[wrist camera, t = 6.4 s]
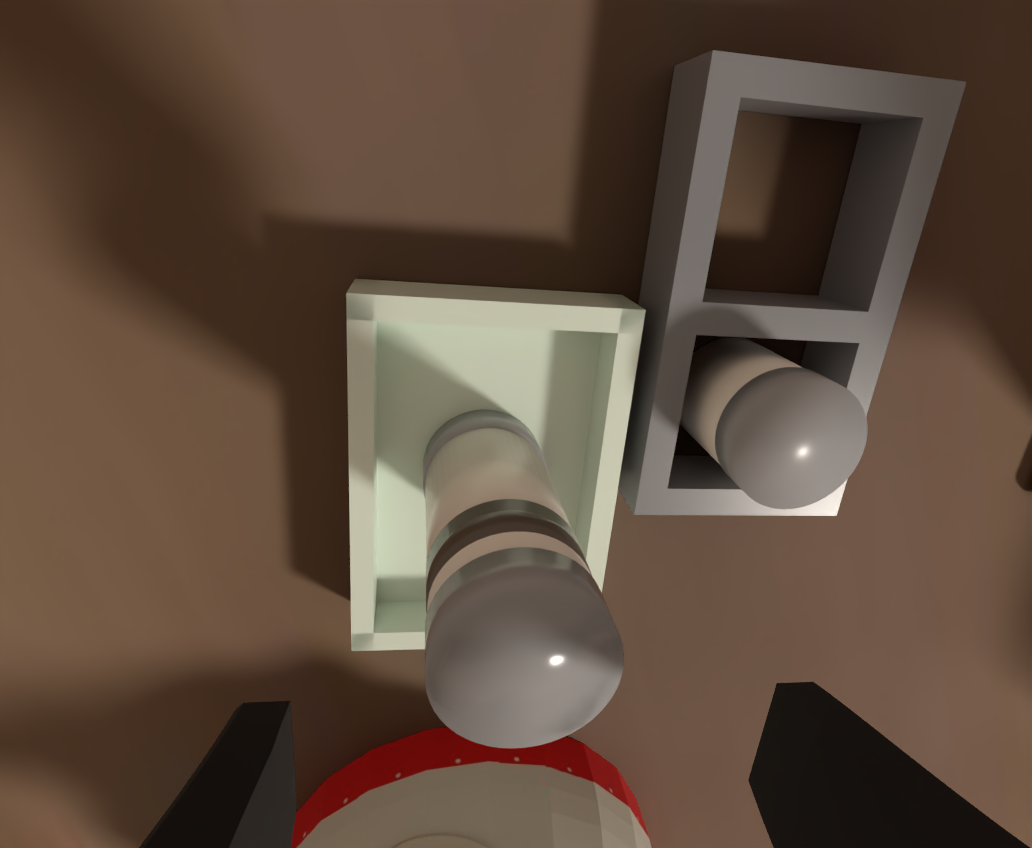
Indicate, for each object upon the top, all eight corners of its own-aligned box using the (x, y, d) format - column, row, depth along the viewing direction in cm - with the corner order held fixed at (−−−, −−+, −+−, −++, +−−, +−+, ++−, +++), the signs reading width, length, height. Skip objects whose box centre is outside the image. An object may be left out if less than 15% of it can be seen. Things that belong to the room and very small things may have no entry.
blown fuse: (549, 415, 18) (642, 593, 10) (531, 519, 19) (603, 747, 11) (429, 404, 17) (436, 586, 10) (417, 513, 18) (416, 749, 11)
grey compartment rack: (898, 92, 16) (1042, 69, 12) (794, 480, 20) (880, 552, 16) (674, 65, 15) (757, 32, 12) (611, 478, 19) (658, 554, 16)
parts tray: (621, 294, 17) (645, 309, 15) (578, 601, 21) (593, 644, 19) (355, 278, 16) (346, 293, 14) (358, 605, 20) (351, 651, 18)
